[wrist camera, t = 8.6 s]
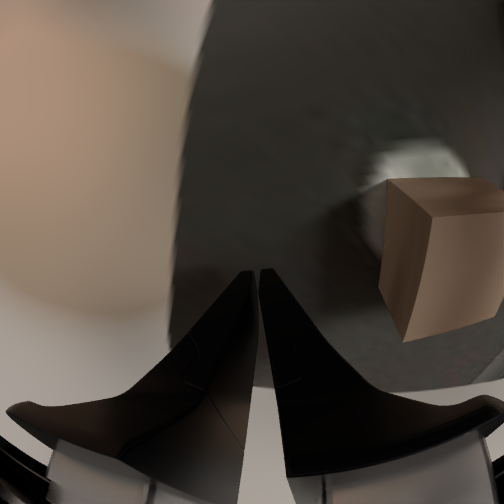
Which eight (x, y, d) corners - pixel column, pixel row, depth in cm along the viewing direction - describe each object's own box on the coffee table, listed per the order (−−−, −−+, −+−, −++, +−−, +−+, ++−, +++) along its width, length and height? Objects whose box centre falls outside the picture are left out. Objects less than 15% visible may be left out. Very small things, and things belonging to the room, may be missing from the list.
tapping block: (479, 176, 9) (531, 210, 6) (460, 270, 11) (494, 316, 8) (385, 177, 9) (432, 217, 6) (377, 284, 12) (402, 342, 9)
